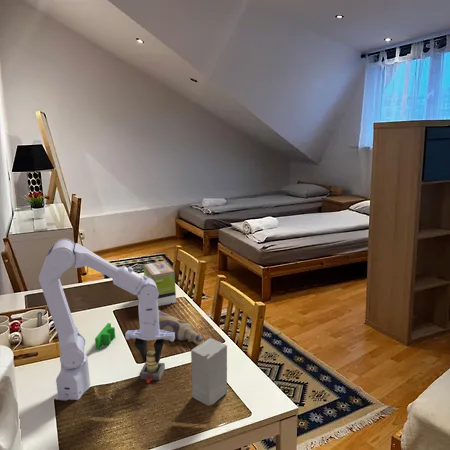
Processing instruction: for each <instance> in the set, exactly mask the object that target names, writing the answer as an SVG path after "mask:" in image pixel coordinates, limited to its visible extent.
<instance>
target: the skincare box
mask: <svg viewBox="0 0 450 450" xmlns="http://www.w3.org/2000/svg"><path fill="white" fill-rule="evenodd" d="M190 354H191V355H190V356H191V357H190V359H191V360H190V361H191V362H190V363H191V384H192V385H191V389H192V390H191V391H192V393H191V395H192V398H193V399H195V400H197V401H199V402H200V403H202V404H204V405H206V406H208V407H209V406H213V405H214V404H215V403H216V402H218V401H219V400H220V399H221V398H222V397H224V395H226V394H227V393H228V385H227V384H228V345H227V344H225V343H223V342H220V341H218V340H216V339H215V338H213V337H209V338H208V339H206V340H205V341H202V342H200V344H198V345H197V346H195V347H193V348H192V349H191V350H190Z"/></svg>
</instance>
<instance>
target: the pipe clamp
mask: <svg viewBox="0 0 450 450" xmlns="http://www.w3.org/2000/svg"><path fill="white" fill-rule="evenodd" d="M114 339H116V329H115V327H112V323H106V325H105V326H104V327H103V328H102V330H101V331H100V332H99V333H98V335H96V336H95V338H94V341H95V350H96V351H100V350H101V348H103V346H104V347H108V346H110V345H111V344H112V343H111V341H113V340H114Z"/></svg>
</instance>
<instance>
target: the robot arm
mask: <svg viewBox="0 0 450 450" xmlns="http://www.w3.org/2000/svg"><path fill="white" fill-rule="evenodd" d="M73 265H74V269H79V268H83V267H88V268H90V269H92V270H93V271H96V272H99V273H100V274H102V275H105V276H107V277H109V278H111V279H112V283H113V285H114V286H116V287H119V288H121V289H122V290H124V291H126V292H128V293H130V294H131V295H134V296H137V299H138V306H137V307H138V308H137V309H138V323H139V329H134V330H133V329H132V330H131V329H130V330H129V329H128V330H127V331H126V332H125V340H130V339H135V340H134V346H135V348H136V349H137V350H138V352H139V354H140V356H141V359H142V362H143V363H146V353H147V352H148V346H147V345H148V341H154V340H155V341H154V342H153V347H154V351H155V353H156V363H160V361H161V355H162V350H163V346H164V344H165V342H166V341H170V342H174V341H175V340H176V339H175V332H168V331H164V330H160V328H159V311H158V310H159V306H158V303H157V301H158V299H157V298H158V296H159V292H158V289H157V286H156V283H155V282H154V280H152V279H151V278H150V277H146V276H145V275H144V274H143V275H141V274H140V273H138V272H136V271H134V268H133V267H131V266H128V267H126V266H125V265H123V266H116V265H115V264H113V263H111V262H109V261H108V260H106V259H104V258H103V257H102V256H100V255H98V254H96V253H94V252H93V251H91V250H90V249H88V248H87V247H85V246H83V245H82V244H81V243H80V244H79V243H77V242H74V241H72V240H71V239H69V238H60V239H58V240H56V241H55V242H54V244H52V246H51V247H50V248H49V249H48V252H47V254H46V257H45V259H44V262H43V265H42V267H41V270H40V272H39V275H38V281H39V285H40V287H41V289H42V292H43V293H42V294H43V296H44V299H45V301H46V305H47V308H48V310H49V313H50V317H51V319H52V322H53V325H54V328H55V331H56V334H57V336H58V346H59V350H60V355H59V362H60V371H59V373H58V375H57V376H56V379H55V384H56V391H57V395H56V396H55V398H54V399H55V400H56V401H68V400H72V401H73V400H76V401H78V400H80V398H82V395H84V394H85V393H86V391H87V390H89V389H90V387H91V379H90V369H89V361H88V355H87V354H86V353H85V345H86V338H85V337H84V335H82V334H81V333H80V332H79V329H78V327H77V326H76V324H75V322H74V319H73V315H72V312H71V309H70V306H69V303H68V300H67V297H66V294H65V292H64V287H63V286H62V282H61V277H62V275H63V274H64V273H65V272H66V271H68V270H69V269H71V268H72V266H73Z"/></svg>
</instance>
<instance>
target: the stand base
mask: <svg viewBox="0 0 450 450" xmlns="http://www.w3.org/2000/svg"><path fill="white" fill-rule="evenodd" d="M157 364H158V369H157V370H156V371H157V372H155V371H154V372H149V371H147V364H146V362H144V365H143V367H142V368H141V370H140V372H139V380H146V383H147V384H150V383H151V382H153V381H160V380H161V378H162V376H163V374H164V372H165V369H166V367H165V362H159V363H157Z"/></svg>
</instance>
